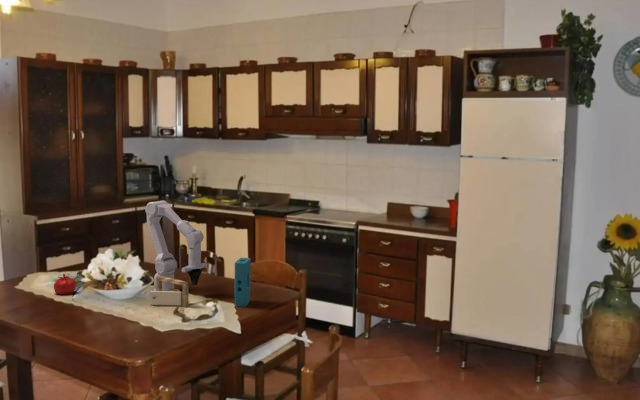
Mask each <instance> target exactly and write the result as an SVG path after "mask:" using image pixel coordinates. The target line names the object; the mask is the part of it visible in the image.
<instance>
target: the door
mask: <svg viewBox="0 0 640 400" xmlns="http://www.w3.org/2000/svg"><path fill="white" fill-rule="evenodd" d="M149 299H150V300H149V304H150V305H149V306H183V291H181V292H176V291H153V290H150V292H149ZM181 299H182V303H181Z"/></svg>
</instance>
